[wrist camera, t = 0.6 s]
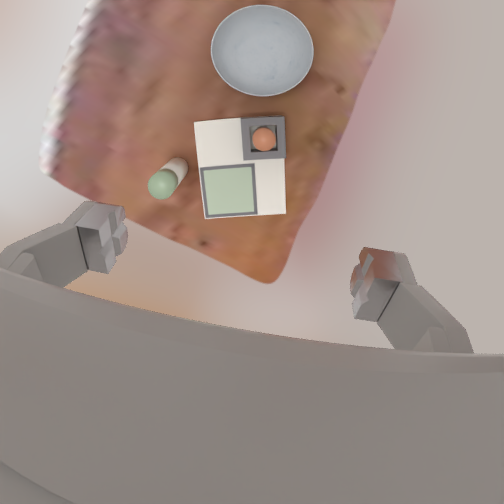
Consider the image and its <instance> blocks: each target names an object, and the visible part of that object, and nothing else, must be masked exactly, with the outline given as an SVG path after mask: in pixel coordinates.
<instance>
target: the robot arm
mask: <svg viewBox="0 0 504 504" xmlns="http://www.w3.org/2000/svg"><path fill="white" fill-rule="evenodd" d="M125 217H126V216H125V210H124V208H123V207H122V206H119V205H113V204H106V203H100V202H94V201H84V202H83V203H82V204H81V205H80V206H79V207H78V208H77V209H76V210H75V211H74V212H73V213H72V214H71V215H70V216H69V217H68V218H67V219H66V220H65V221H64V222H63V223H62V224H60V223H58V224H56V225H53V226H51V227H49V228H46V229H44V230H42V231H40V232H37V233H35V234H33V235H31V236H28V237H26V238H24V239H22V240H20V241H17V242H16V243H13V244H11V245H9V246H7V247H6V248H5V249H4V250H3V251H2V252H1V253H0V504H504V354H474V352H473V349H472V346H471V343H470V340H469V337H468V334H467V332H466V329H465V328H464V327H463V326H462V325H461V324H460V323H459V322H458V321H457V320H456V319H455V318H454V317H453V316H452V315H451V314H450V313H449V312H448V311H447V310H446V309H445V308H444V307H443V306H442V305H441V304H440V303H439V302H438V301H437V300H436V299H435V298H434V297H433V296H432V295H431V294H429V293H428V292H427V291H426V290H425V289H424V288H423V287H422V286H419V285H417V282H416V280H415V277H414V274H413V271H412V269H411V266H410V264H409V261H408V258H407V256H406V255H405V254H404V253H398V252H392V251H384V250H379V249H373V248H368V247H364V248H363V250H361V253H360V255H359V259H360V264H358V265H357V266H355V268H354V270H353V273H352V277H351V281H350V291H351V294H352V295H353V297H354V298H355V299H354V301H353V303H352V306H353V312H354V318H355V319H361V320H367V321H374V322H377V324H378V325H379V327H380V328H381V330H383V332H384V334H385V335H386V337H387V338H388V340H389V341H390V343H391V344H392V345H393V347H394V348H395V349H386V348H375V347H374V348H373V347H363V346H354V345H345V344H337V343H329V342H321V341H313V340H306V339H299V338H292V337H286V336H279V335H272V334H266V333H260V332H254V331H248V330H243V329H237V328H232V327H226V326H221V325H215V324H210V323H205V322H200V321H195V320H190V319H185V318H181V317H176V316H171V315H167V314H162V313H158V312H153V311H149V310H145V309H140V308H136V307H132V306H128V305H124V304H120V303H116V302H112V301H108V300H105V299H101V298H97V297H93V296H90V295H86V294H83V293H79V292H75V291H72V290H68V289H65V288H63V287H65V286H66V285H68V284H69V283H71V282H72V281H73V280H75V279H77V278H78V277H79V276H81V275H82V274H84V273H85V272H87V270H91V271H96V272H101V273H106V274H108V273H109V272H110V270H111V269H112V267H113V266H114V264H115V263H116V258H115V257H116V256H118V255H120V254H121V253H122V252H123V251H124V249H125V247H126V243H127V238H128V232H127V227H126V226H125V225H124V223H123V220H124V219H125Z"/></svg>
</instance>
